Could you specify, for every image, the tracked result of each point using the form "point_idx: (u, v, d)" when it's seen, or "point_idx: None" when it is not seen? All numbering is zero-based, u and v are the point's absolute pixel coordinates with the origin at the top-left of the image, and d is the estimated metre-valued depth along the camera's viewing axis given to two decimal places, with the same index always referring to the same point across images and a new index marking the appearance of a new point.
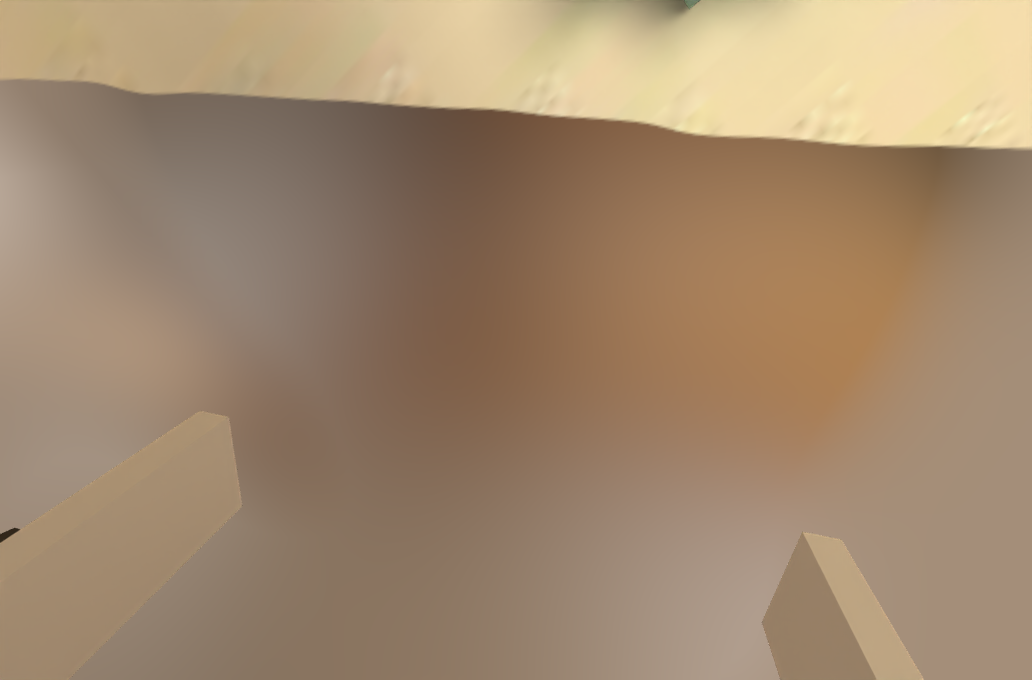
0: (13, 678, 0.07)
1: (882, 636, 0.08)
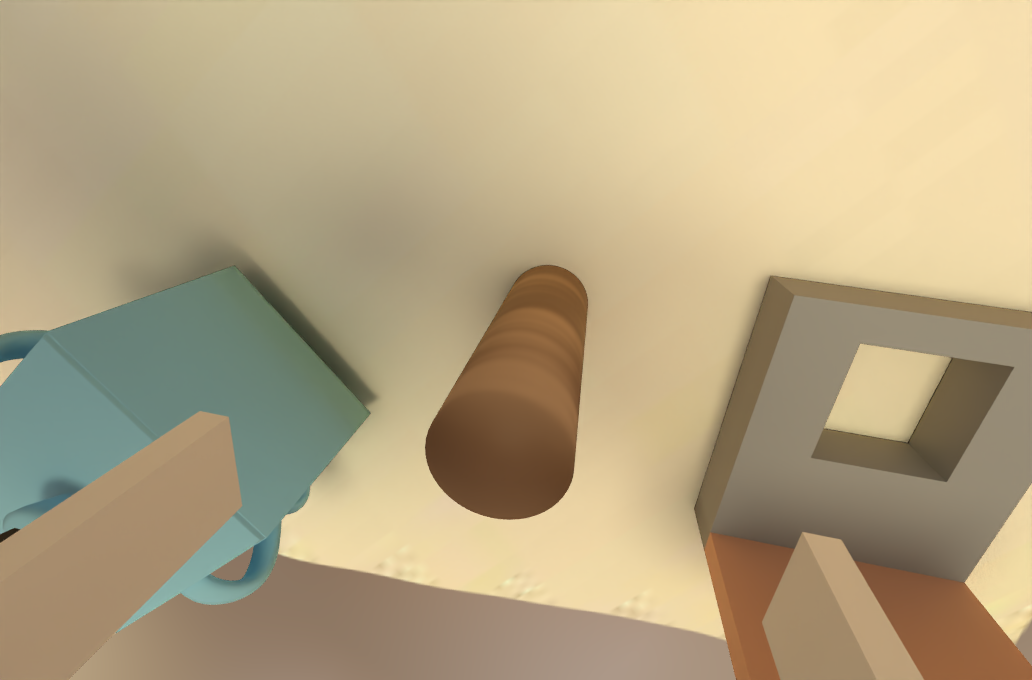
0: (13, 678, 0.07)
1: (882, 636, 0.08)
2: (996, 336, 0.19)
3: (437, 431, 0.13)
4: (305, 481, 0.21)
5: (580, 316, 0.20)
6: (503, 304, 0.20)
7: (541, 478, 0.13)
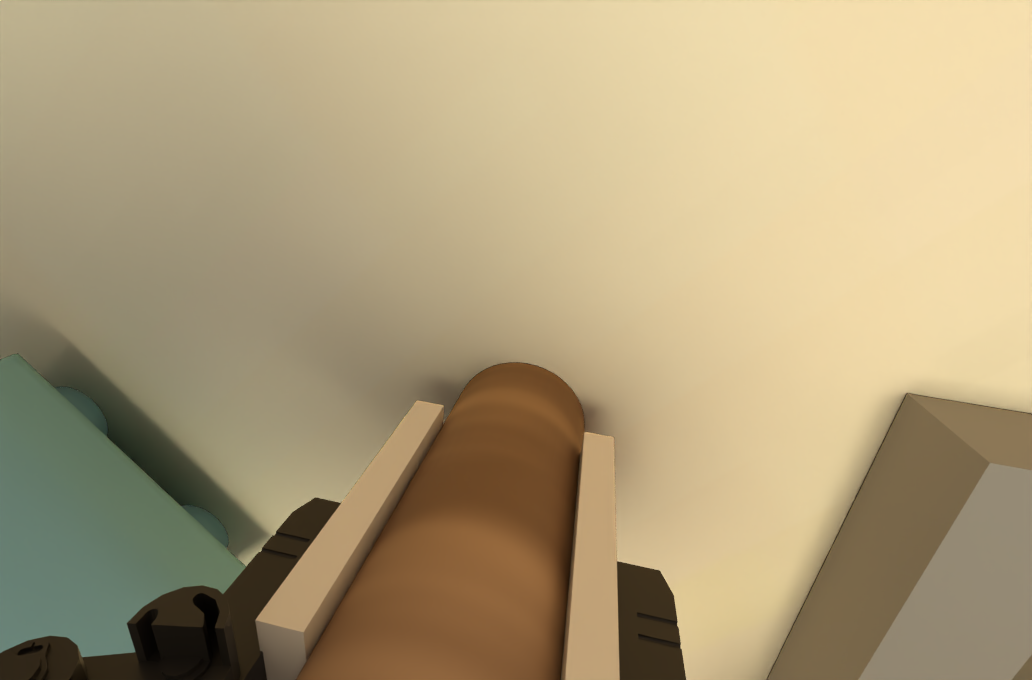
0: None
1: (602, 491, 0.10)
2: None
3: None
4: None
5: (567, 492, 0.11)
6: (422, 465, 0.11)
7: None
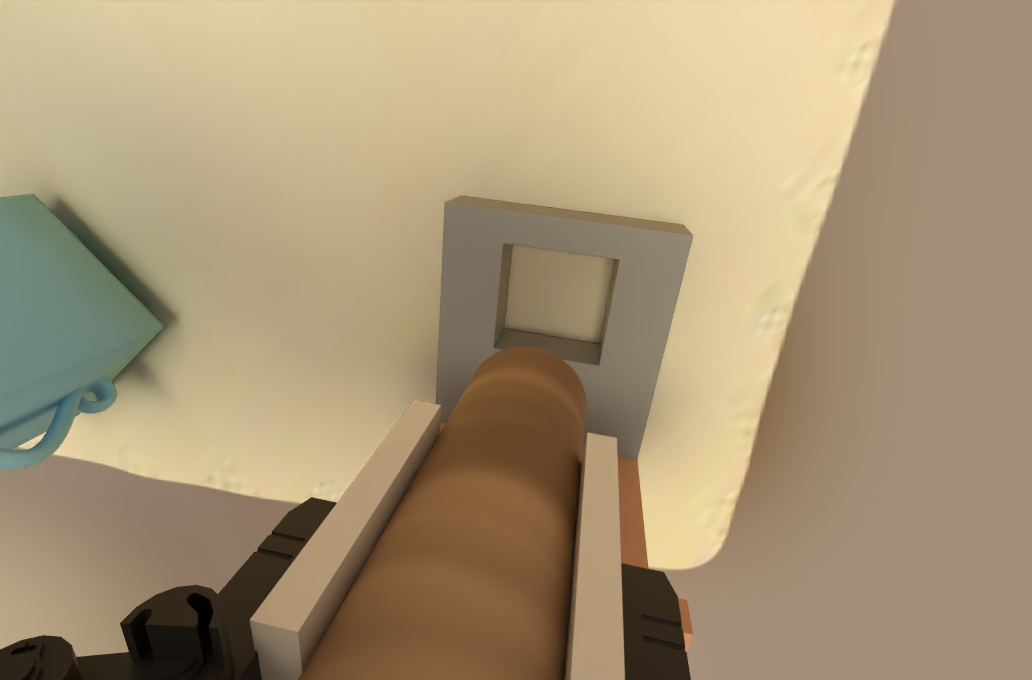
0: None
1: (606, 492, 0.10)
2: (599, 233, 0.23)
3: None
4: (63, 363, 0.26)
5: (572, 457, 0.12)
6: (443, 432, 0.12)
7: None
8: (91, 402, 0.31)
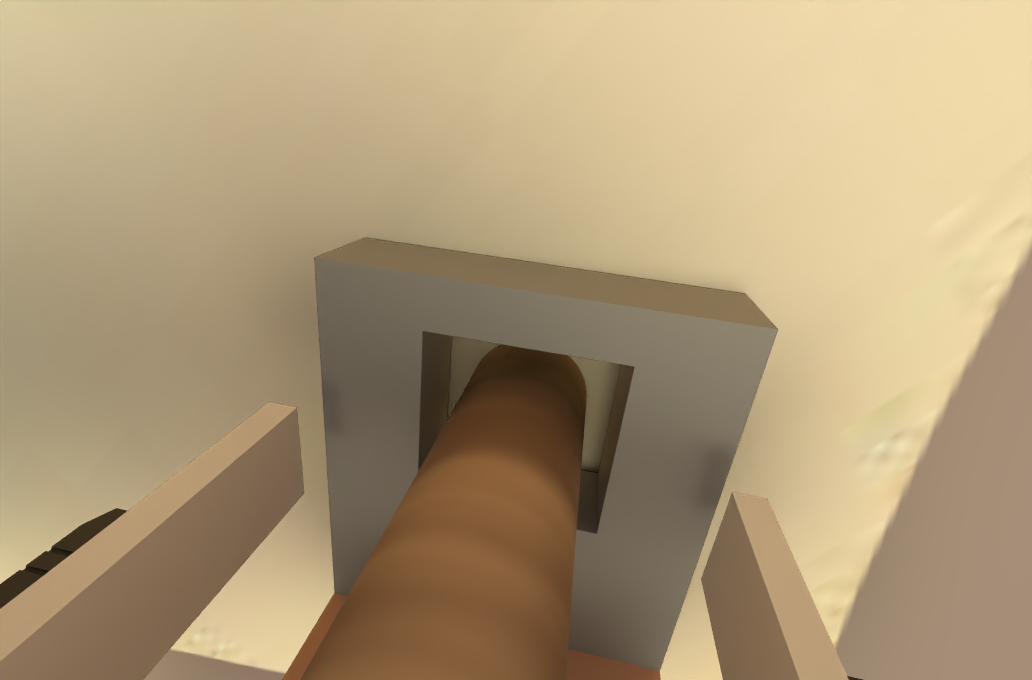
0: (130, 644, 0.08)
1: (787, 576, 0.09)
2: (597, 319, 0.12)
3: None
4: None
5: (573, 443, 0.12)
6: (450, 420, 0.13)
7: None
8: None
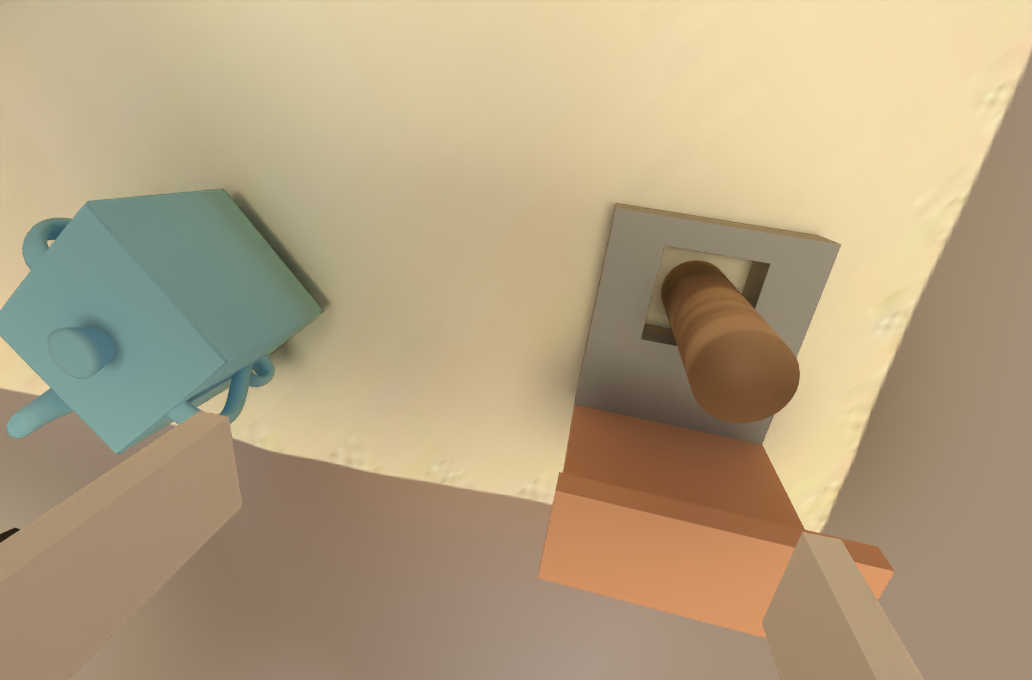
0: (13, 678, 0.07)
1: (882, 636, 0.08)
2: (755, 239, 0.26)
3: (704, 357, 0.19)
4: (263, 338, 0.29)
5: None
6: (682, 286, 0.27)
7: (772, 392, 0.19)
8: (257, 376, 0.34)
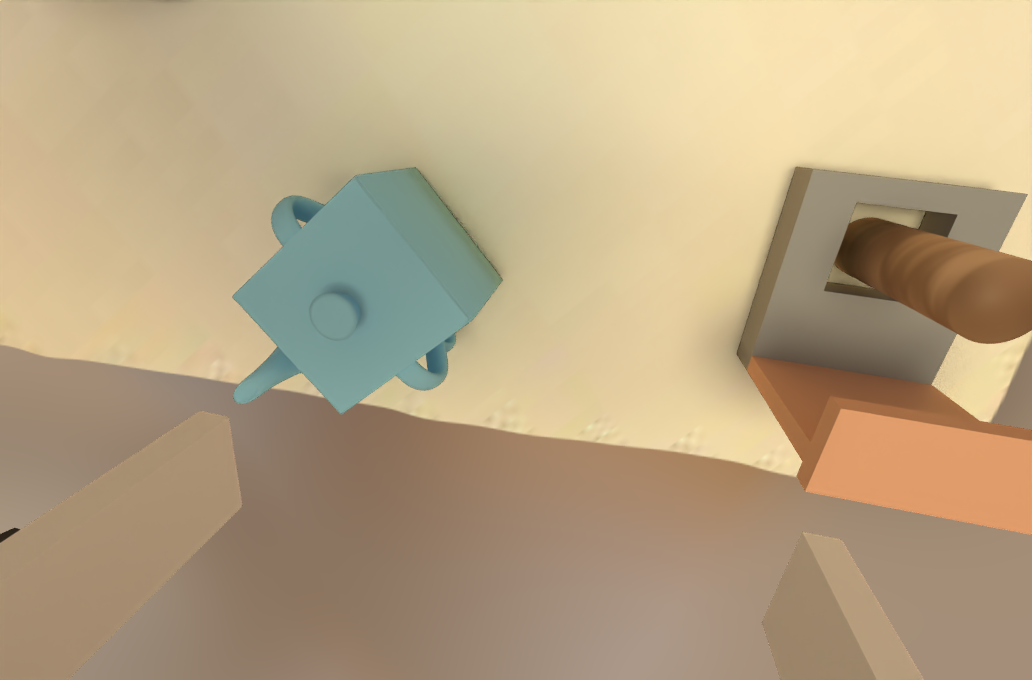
0: (13, 678, 0.07)
1: (882, 636, 0.08)
2: (945, 193, 0.29)
3: (966, 285, 0.22)
4: (481, 301, 0.32)
5: None
6: (877, 237, 0.29)
7: (1027, 313, 0.22)
8: (446, 342, 0.37)
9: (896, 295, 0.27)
